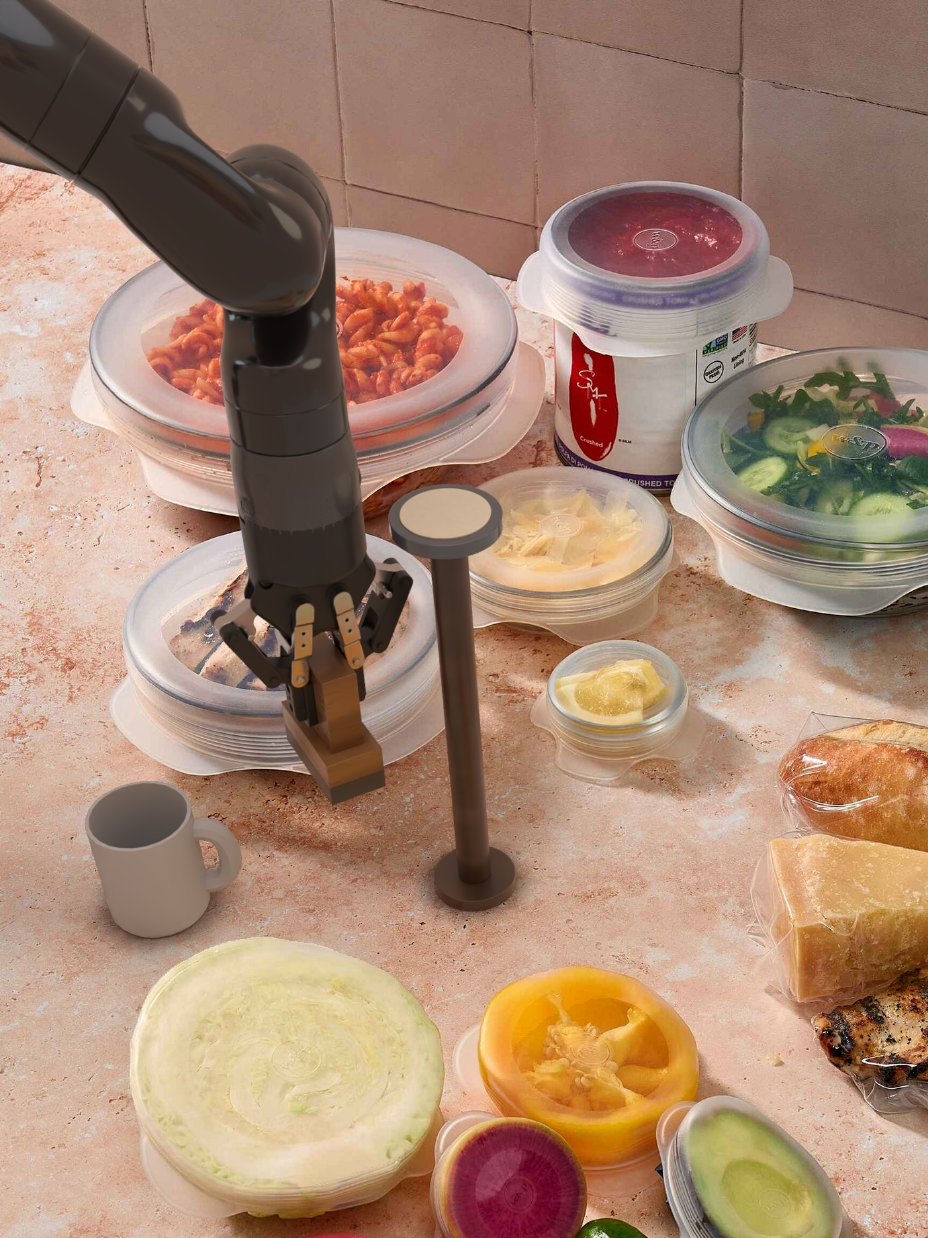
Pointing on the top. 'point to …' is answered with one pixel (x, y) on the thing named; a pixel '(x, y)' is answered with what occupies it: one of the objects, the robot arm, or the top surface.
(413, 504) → the plate
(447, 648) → the stand
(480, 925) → the top surface
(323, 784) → the brush
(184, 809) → the cup
